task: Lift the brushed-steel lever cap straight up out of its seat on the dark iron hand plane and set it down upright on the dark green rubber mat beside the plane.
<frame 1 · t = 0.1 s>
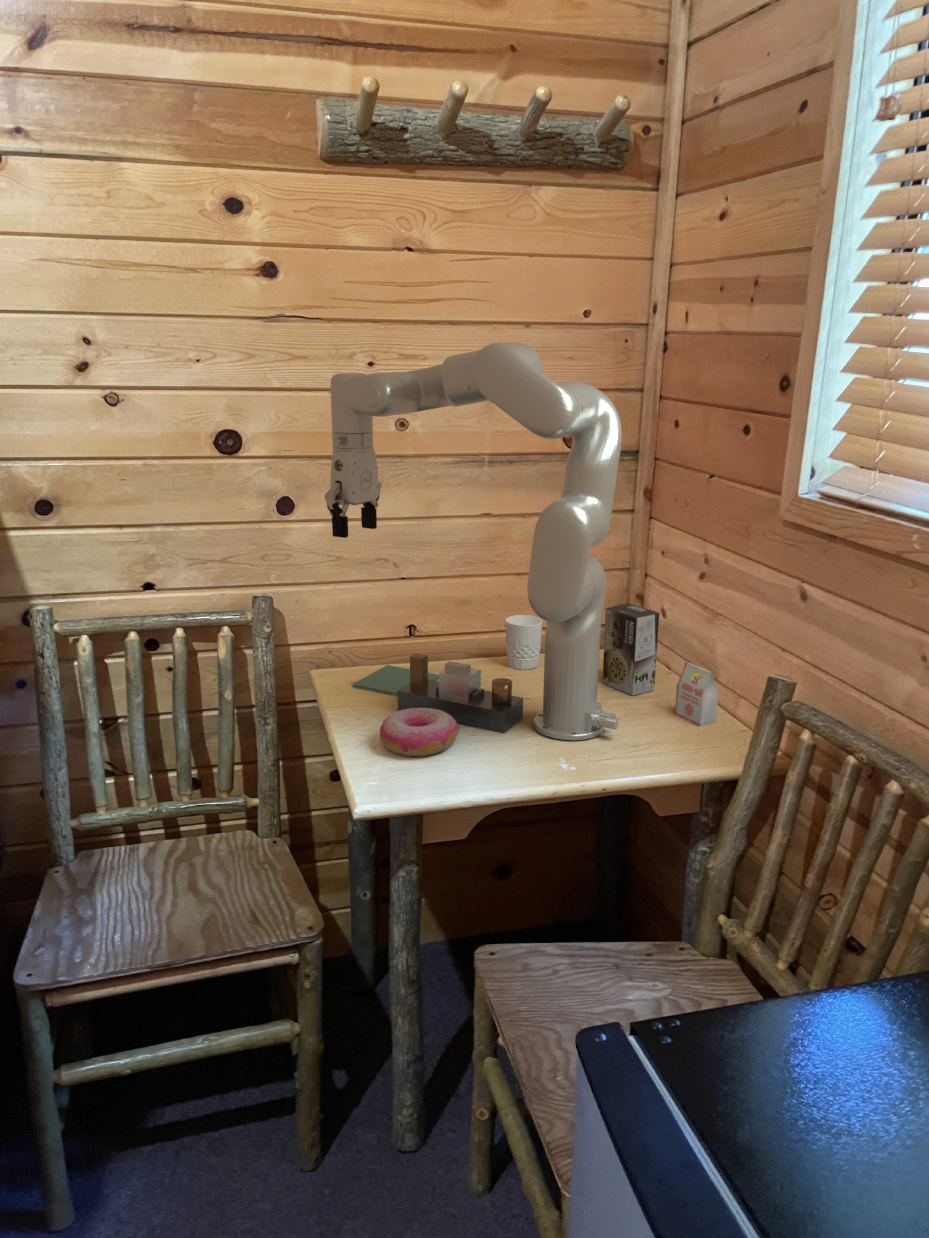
hand: (355, 532, 177), 31 cm above the table, tool pointing down, fingers open, 9 cm apart
white gable carton: (694, 719, 170), on the table
rubber mat: (397, 682, 187), on the table
lever cap: (459, 694, 170), point 4 cm above the table, touching plane body
white cup: (522, 665, 198), on the table
plane body: (459, 714, 171), on the table
donut: (419, 745, 159), on the table
coffee box: (627, 687, 186), on the table
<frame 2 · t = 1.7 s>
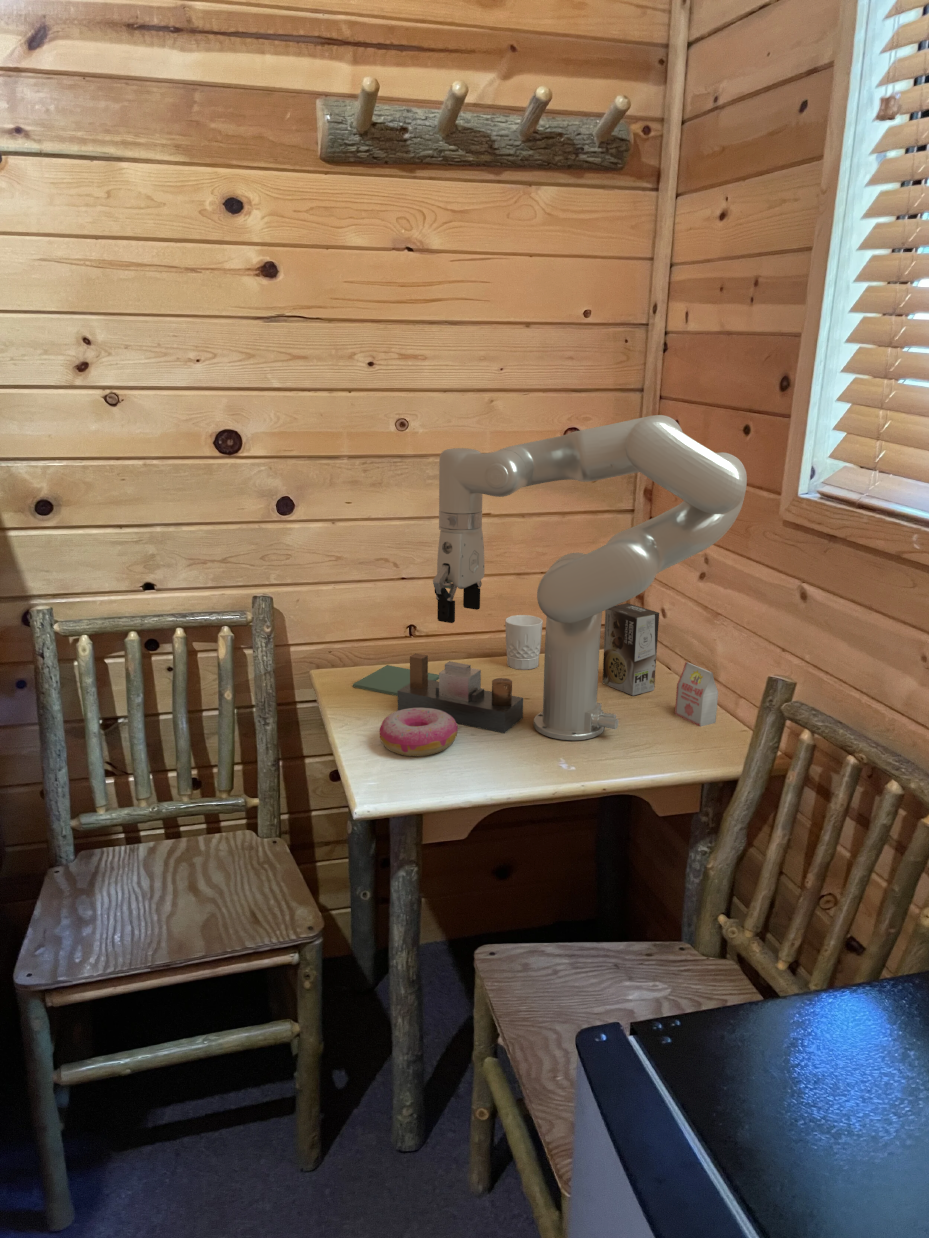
hand: (459, 614, 166), 19 cm above the table, tool pointing down, fingers open, 9 cm apart
nothing on the table moved.
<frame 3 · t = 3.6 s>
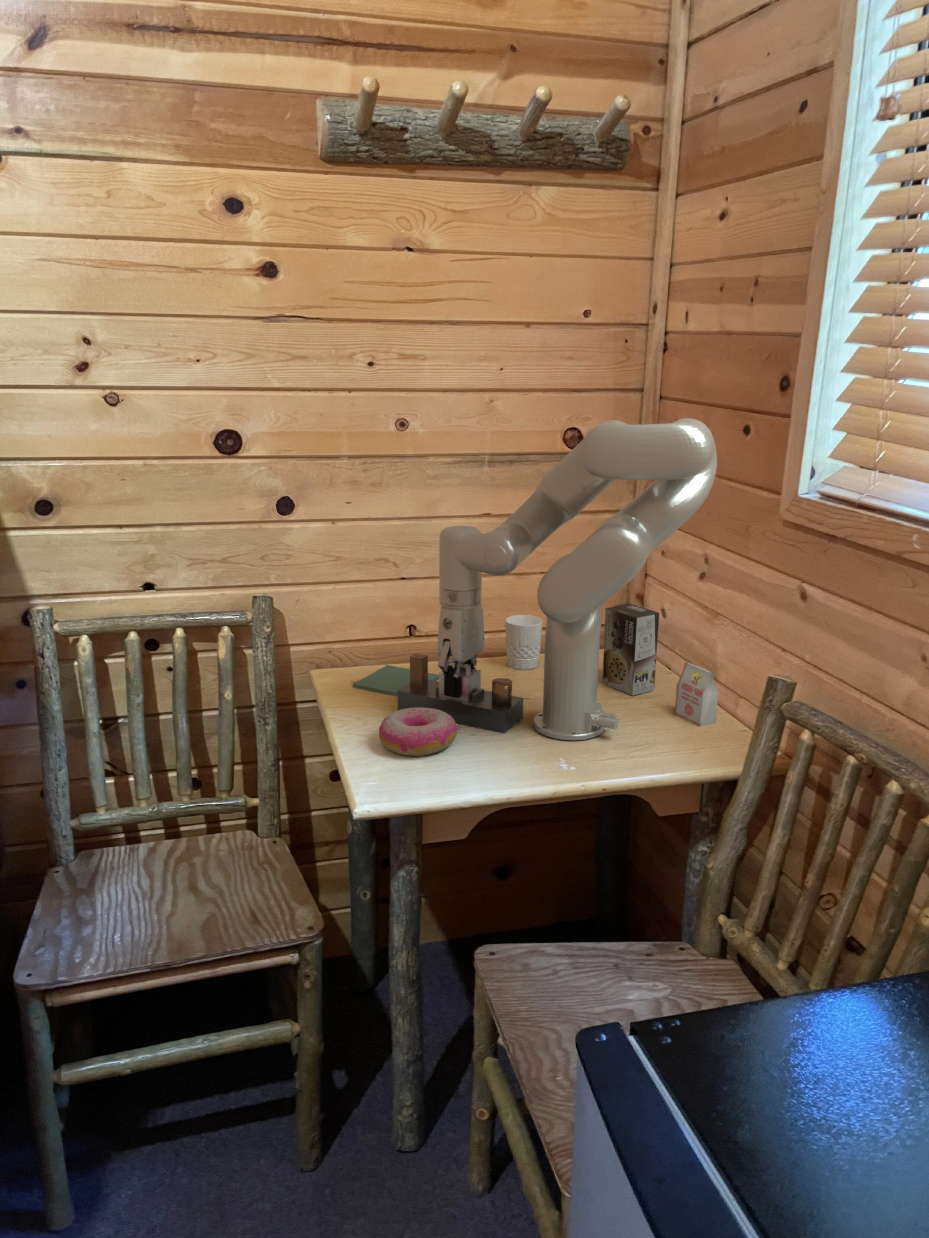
hand: (459, 690, 170), 5 cm above the table, tool pointing down, fingers closed on lever cap, 5 cm apart
lever cap: (459, 694, 170), point 4 cm above the table, touching gripper, plane body
everything else where it was.
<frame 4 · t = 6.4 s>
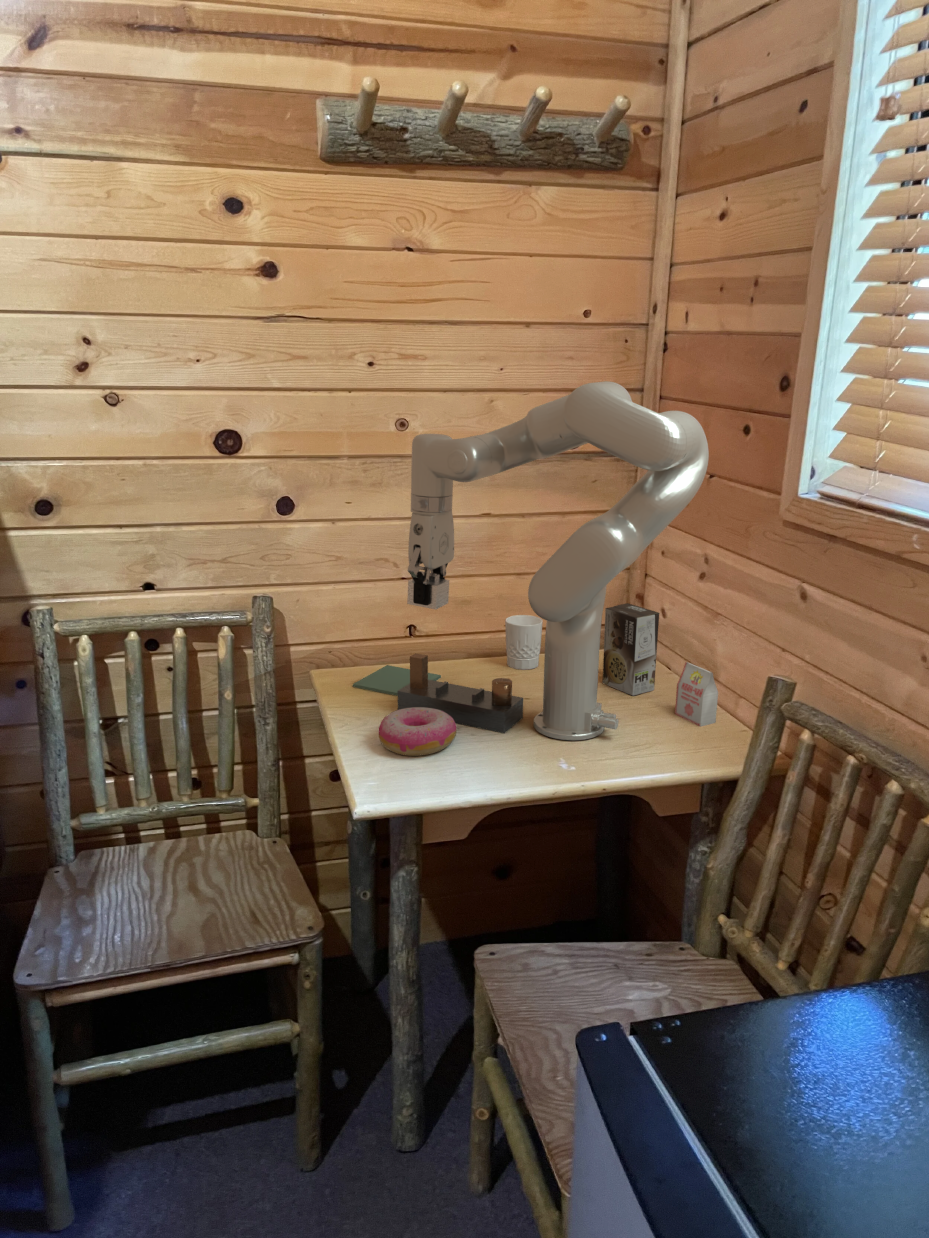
hand: (428, 599, 172), 20 cm above the table, tool pointing down, fingers closed on lever cap, 5 cm apart
lever cap: (427, 603, 173), point 19 cm above the table, touching gripper
everything else where it was.
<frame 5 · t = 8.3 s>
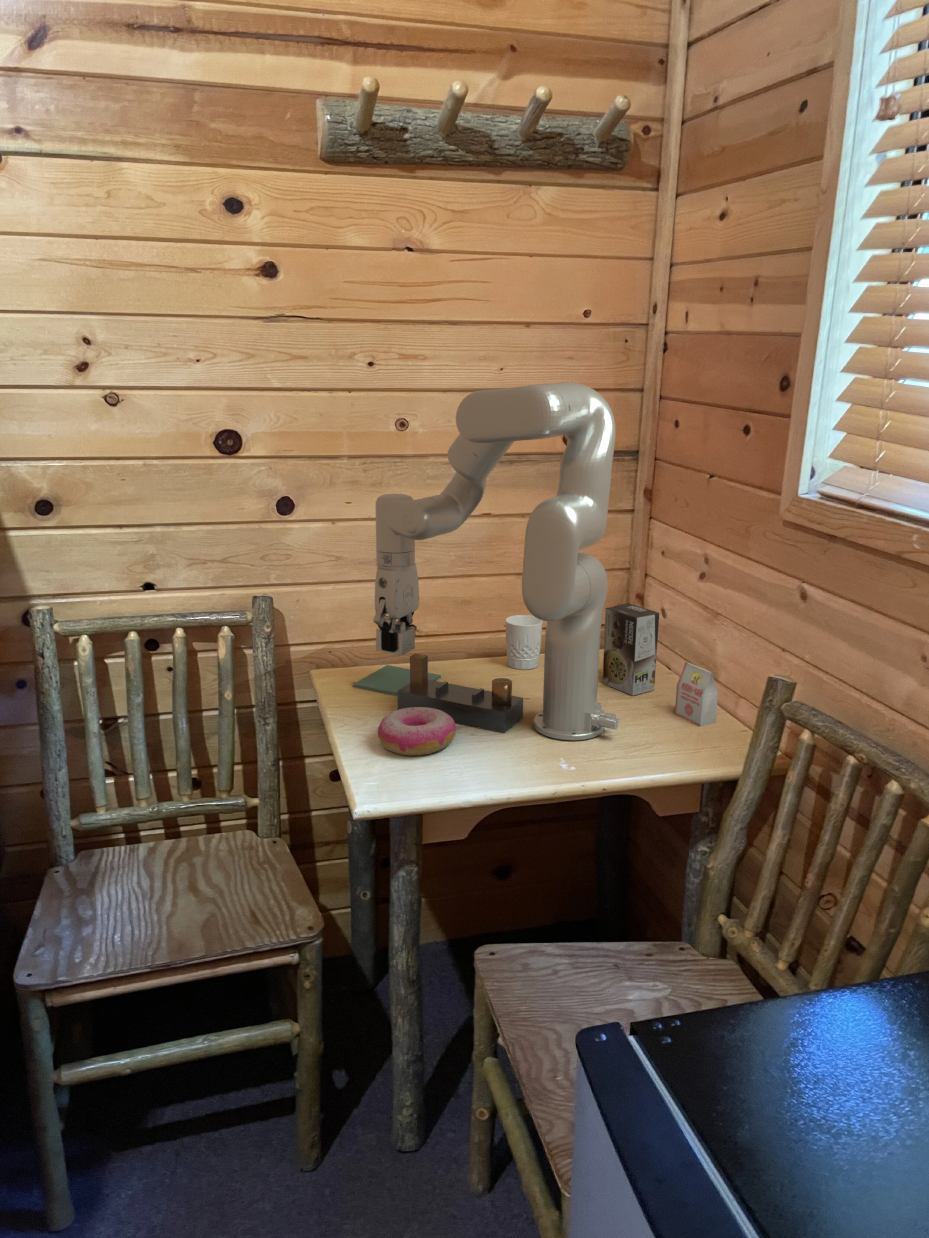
hand: (396, 645, 185), 8 cm above the table, tool pointing down, fingers closed on lever cap, 5 cm apart
lever cap: (395, 649, 185), point 7 cm above the table, touching gripper
everything else where it was.
when the fingers open (3 cm above the table, at t = 9.6 s): lever cap drops 1 cm, resting on rubber mat.
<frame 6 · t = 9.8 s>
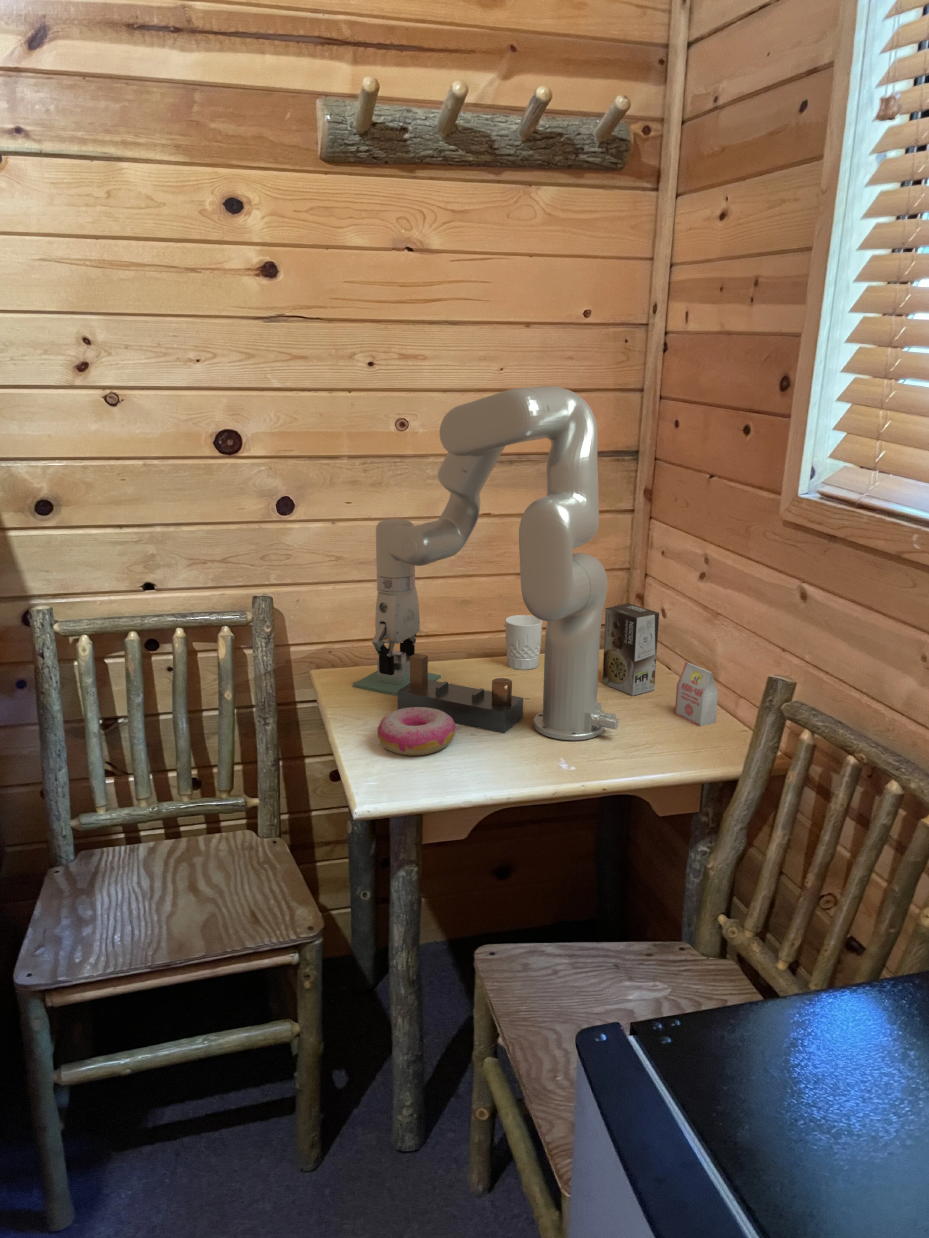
hand: (397, 667, 186), 3 cm above the table, tool pointing down, fingers open, 7 cm apart
lever cap: (396, 679, 187), point 1 cm above the table, touching rubber mat
everything else where it was.
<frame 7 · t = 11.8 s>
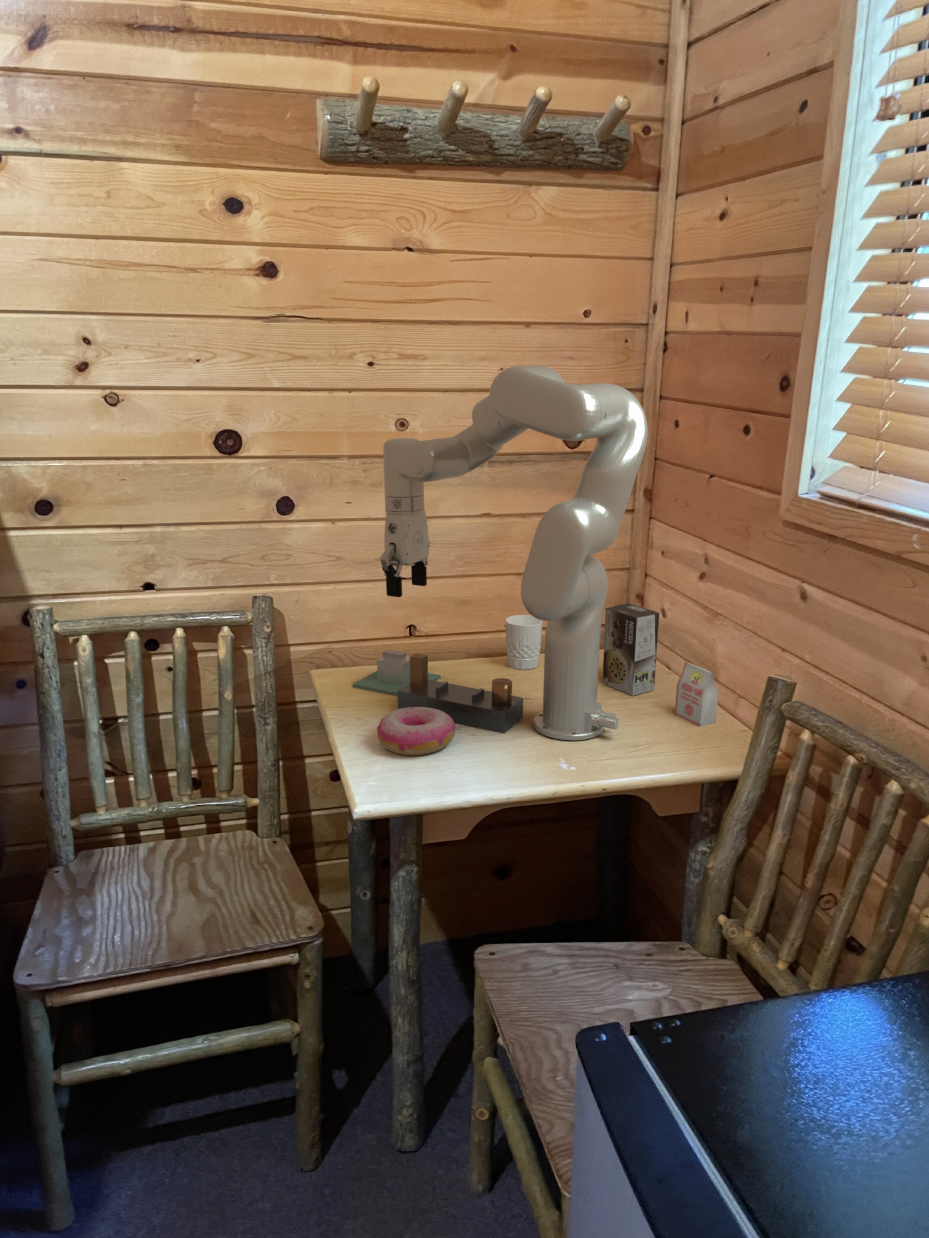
hand: (407, 590, 182), 19 cm above the table, tool pointing down, fingers open, 9 cm apart
nothing on the table moved.
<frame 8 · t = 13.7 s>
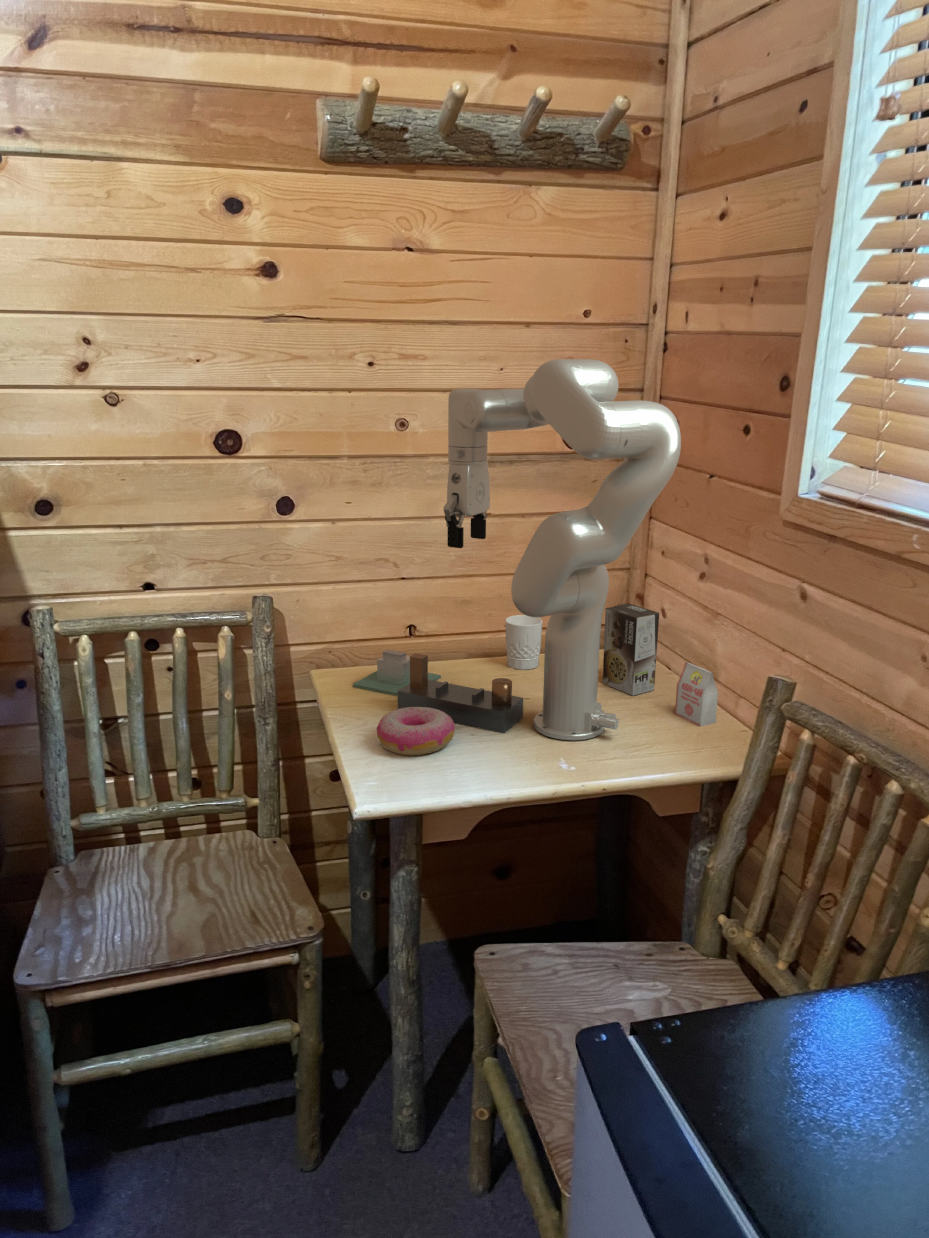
hand: (467, 542, 182), 28 cm above the table, tool pointing down, fingers open, 9 cm apart
nothing on the table moved.
at the end: lever cap inside the target area on the rubber mat (0.1 cm from its centre), point 0.6 cm above the rubber mat's base; lever cap tilted 0°; lever cap touching rubber mat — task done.
